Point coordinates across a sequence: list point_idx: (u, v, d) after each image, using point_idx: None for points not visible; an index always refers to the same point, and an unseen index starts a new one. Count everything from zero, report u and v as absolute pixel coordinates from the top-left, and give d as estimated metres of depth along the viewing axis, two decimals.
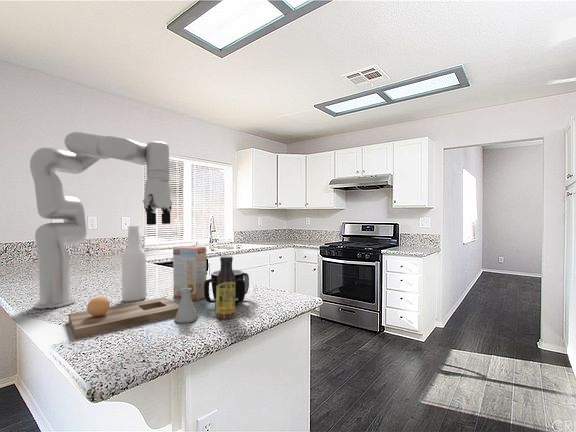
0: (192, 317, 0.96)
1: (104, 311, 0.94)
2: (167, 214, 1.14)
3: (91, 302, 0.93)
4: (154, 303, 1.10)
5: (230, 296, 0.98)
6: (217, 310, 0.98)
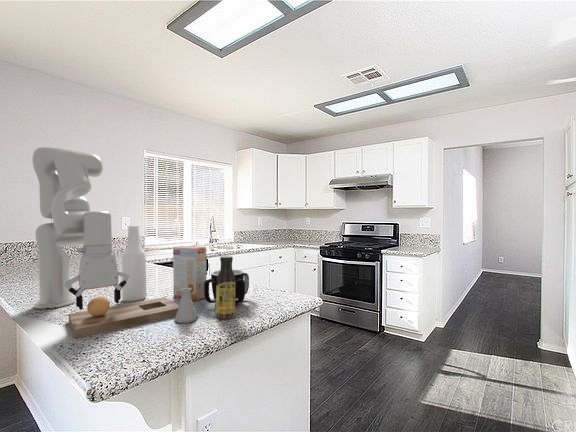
0: (192, 317, 0.96)
1: (104, 311, 0.94)
2: (81, 296, 0.93)
3: (91, 302, 0.93)
4: (154, 303, 1.10)
5: (230, 296, 0.98)
6: (217, 310, 0.98)
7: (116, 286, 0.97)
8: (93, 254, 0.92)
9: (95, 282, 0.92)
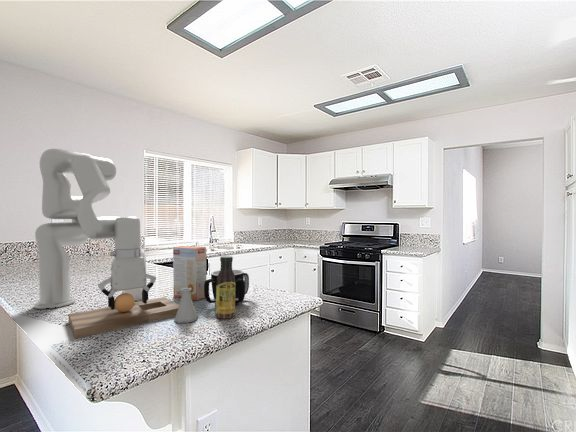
0: (192, 317, 0.96)
1: (118, 305, 0.96)
2: None
3: (133, 302, 1.00)
4: (154, 303, 1.10)
5: (230, 296, 0.98)
6: (217, 310, 0.98)
7: (144, 287, 1.03)
8: (124, 257, 0.97)
9: (126, 284, 0.98)
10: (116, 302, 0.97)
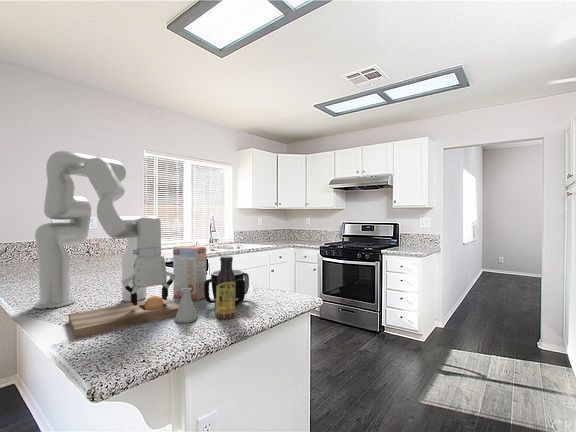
0: (192, 317, 0.96)
1: (162, 306, 1.05)
2: None
3: (148, 305, 1.03)
4: None
5: (230, 296, 0.98)
6: (217, 310, 0.98)
7: (164, 284, 1.07)
8: (146, 256, 1.02)
9: (148, 281, 1.02)
10: None
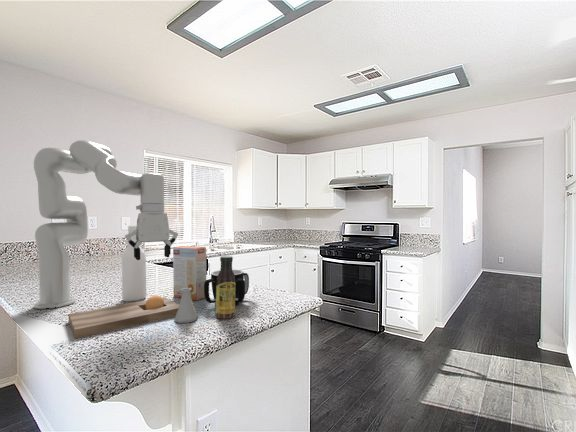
0: (192, 317, 0.96)
1: (163, 305, 1.06)
2: None
3: (149, 303, 1.03)
4: None
5: (230, 296, 0.98)
6: (217, 310, 0.98)
7: (167, 242, 1.08)
8: (150, 211, 1.02)
9: (151, 236, 1.03)
10: None
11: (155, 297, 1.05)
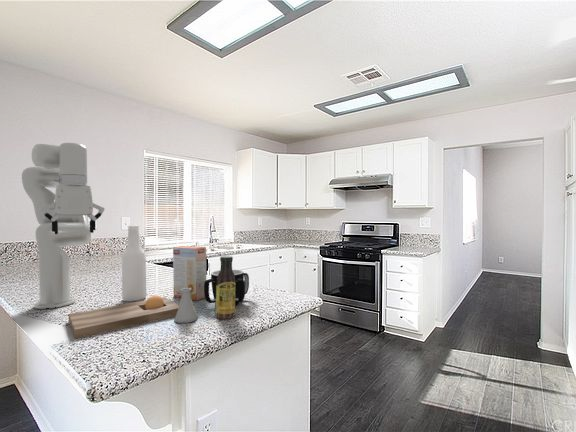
0: (192, 317, 0.96)
1: (162, 305, 1.06)
2: None
3: (149, 303, 1.03)
4: None
5: (230, 296, 0.98)
6: (217, 310, 0.98)
7: (91, 216, 1.02)
8: (68, 182, 0.97)
9: (70, 209, 0.98)
10: None
11: (154, 297, 1.05)
